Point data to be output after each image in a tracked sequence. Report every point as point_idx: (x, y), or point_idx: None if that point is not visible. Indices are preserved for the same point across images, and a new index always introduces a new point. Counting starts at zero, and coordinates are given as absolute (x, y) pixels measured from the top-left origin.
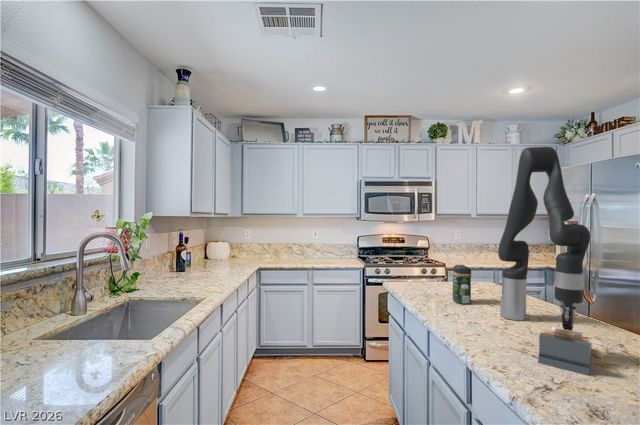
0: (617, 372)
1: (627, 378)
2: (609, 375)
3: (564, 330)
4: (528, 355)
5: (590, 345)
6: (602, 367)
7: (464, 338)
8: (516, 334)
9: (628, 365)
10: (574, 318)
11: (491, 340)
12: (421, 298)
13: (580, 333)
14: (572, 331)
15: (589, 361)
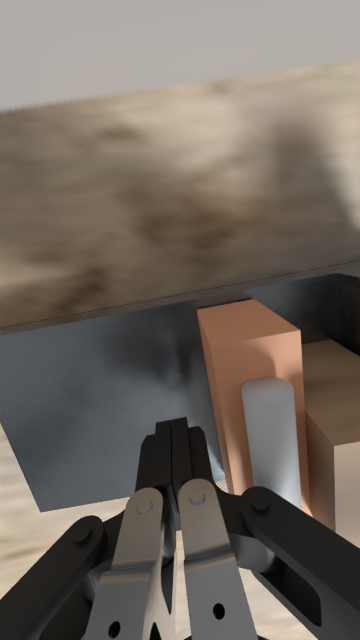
0: (243, 160)
1: (295, 103)
2: (320, 182)
3: (356, 508)
4: None
5: (15, 337)
6: (229, 231)
7: None
8: None
9: (73, 132)
10: (235, 621)
11: (265, 591)
12: None
13: (292, 408)
14: (337, 464)
15: (286, 280)
